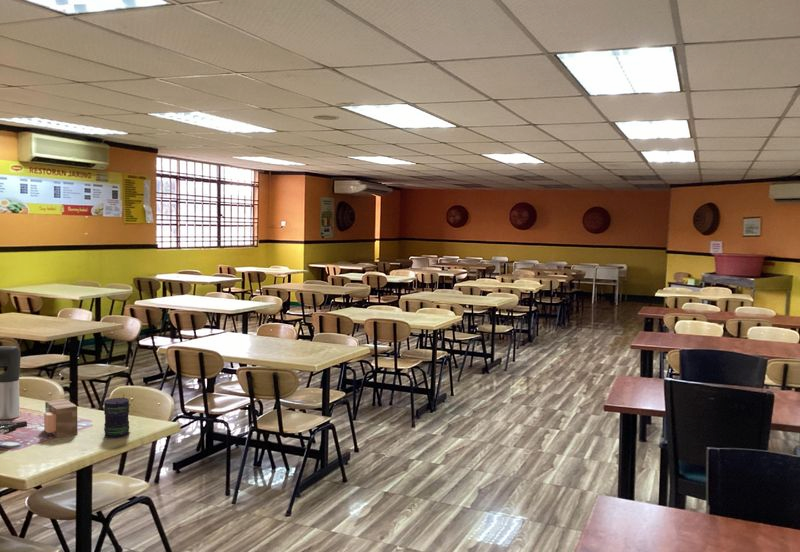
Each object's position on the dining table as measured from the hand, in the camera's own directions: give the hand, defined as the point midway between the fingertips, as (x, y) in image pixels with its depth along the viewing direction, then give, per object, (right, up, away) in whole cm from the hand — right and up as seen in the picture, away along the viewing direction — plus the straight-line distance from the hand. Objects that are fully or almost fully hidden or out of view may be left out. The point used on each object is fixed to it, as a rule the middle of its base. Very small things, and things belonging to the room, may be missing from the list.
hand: (26, 423), depth 266 cm
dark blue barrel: (+33, -7, +9) cm, 35 cm away
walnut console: (+7, -6, +14) cm, 17 cm away
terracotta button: (+7, -4, +7) cm, 11 cm away
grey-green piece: (+3, -4, +16) cm, 17 cm away
